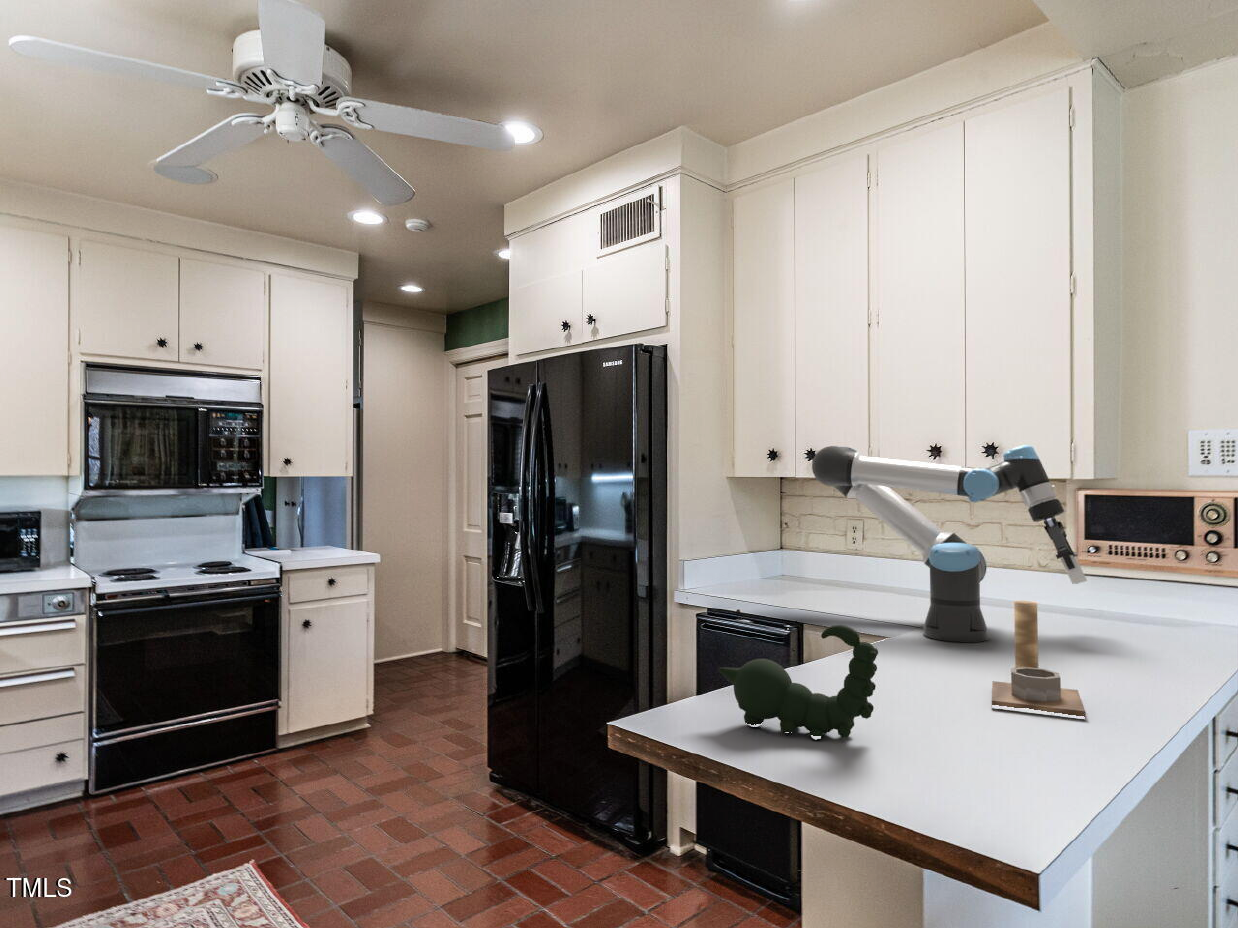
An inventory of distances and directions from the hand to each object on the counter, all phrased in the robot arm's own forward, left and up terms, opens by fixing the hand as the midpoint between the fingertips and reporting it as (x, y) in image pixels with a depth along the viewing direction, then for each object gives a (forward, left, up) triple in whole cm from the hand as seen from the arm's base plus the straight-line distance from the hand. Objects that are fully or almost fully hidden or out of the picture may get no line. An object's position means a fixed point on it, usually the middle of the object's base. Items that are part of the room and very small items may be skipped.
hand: (1080, 582), depth 185 cm
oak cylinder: (-13, -49, -14) cm, 53 cm away
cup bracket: (-12, -63, -14) cm, 66 cm away
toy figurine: (-47, -97, -15) cm, 109 cm away
